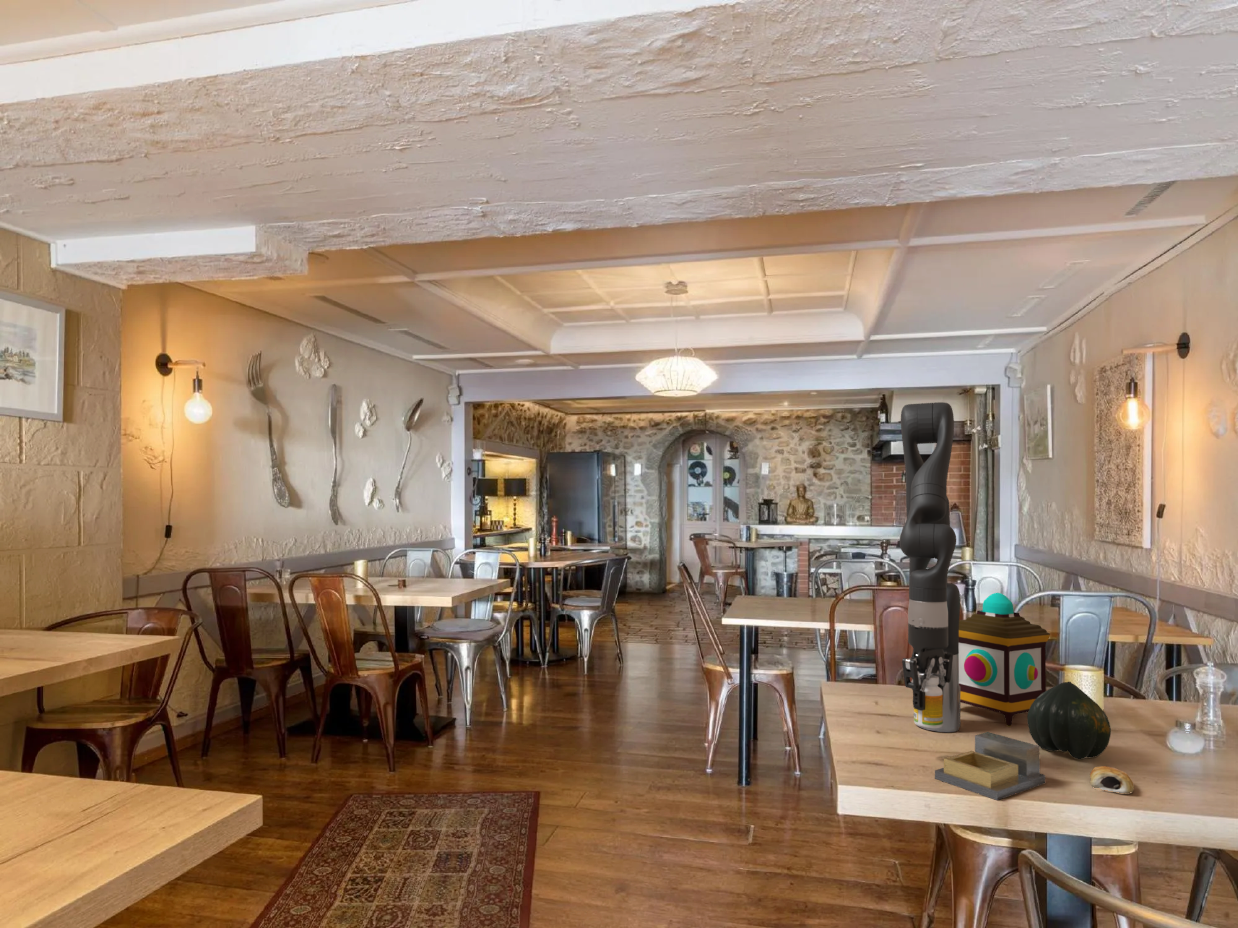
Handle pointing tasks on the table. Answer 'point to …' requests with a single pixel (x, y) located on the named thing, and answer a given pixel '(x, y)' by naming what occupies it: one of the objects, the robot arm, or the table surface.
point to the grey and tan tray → (994, 767)
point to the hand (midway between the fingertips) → (928, 706)
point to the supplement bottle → (931, 705)
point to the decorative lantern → (1001, 659)
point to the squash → (1069, 722)
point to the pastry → (1111, 779)
